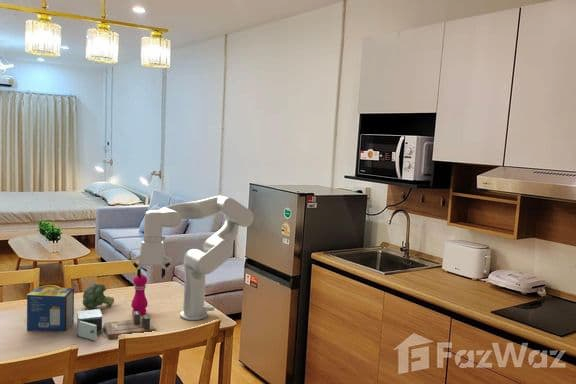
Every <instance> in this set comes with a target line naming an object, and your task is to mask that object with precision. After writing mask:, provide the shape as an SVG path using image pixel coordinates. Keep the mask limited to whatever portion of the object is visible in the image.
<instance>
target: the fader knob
mask: <svg viewBox="0 0 576 384" xmlns="http://www.w3.org/2000/svg"><path fill="white" fill-rule="evenodd" d="M140 319H141V316H140V313H139V311H135V312H133V314H132V320H133V323H134V325H138V324H140Z"/></svg>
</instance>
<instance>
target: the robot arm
mask: <svg viewBox="0 0 576 384" xmlns="http://www.w3.org/2000/svg"><path fill="white" fill-rule="evenodd" d="M216 215H224V217H225V218H224V223H223V226H221V228H219V230H218V231H216V232H215V233H214V234H212V235H211V236H209V237H208V238H207V239H206V240H205V241H204V243H203V245H202V248H203V250H201V249H197V248H192V249H188V251H186V252H185V254H184V256H183V268H184V287H183V288H184V289H183V309H182V310H181V311H180V312H179V317H180V318H181V319H183V320H188V321H199V320H203V319H205V318H206V317H207V316H208V312H209V311H210V312H211V311H214V310H215V306H211V305H205V296H206V295H205V293H206V275H209V274H211V273H213V272H215V270H217V269H219V267H220V266H222V265H223V264H224V263H225V262H227V261H228V260H229V259H230V257H231V256H232V254H233V252H234V251H233V250H234V246H233V244H232V242H234V241H235V240H236V238H237V236H238V234H239V228H240V227H244V228H246V227H247V228H248V227H250V226H251V225H252V224H253V222H254V218H255V217H254V213H253V212H252V210H250V209H249V208H248V207H246V206H245V205H243V204H242V203H241V202H239V201H237V200H236V199H234V198H232V197H231V196H230V197H229V196H225V195H214V196H211V197H208V198H204V199H200V200H195V201H189V202H188V201H187V202H181V203H175V204H171V205H170V204H169V205H167V206H162V207H161V208H159V209H158V210H156V209H155V210H154V209H153V210H151V209H150V210H147V211H146V212H145V213H144V227H143V228H144V229H143V230H144V231H143V241H141V245H140V250H139V254H138V255H136V256H134V257H132V258H130V262H131V264H132V266H133V267H135V269H136V270H137V271H136V276H139V279H140V278H141V272H142V270H141V269H142V267H143V266H161V279H164V277H165V276H166V270H167V268H168V267H170V265H171V263H172V262H173V257H170V256H168V255H166V254H165V247H164V246H165V244H164V240H166V236H164V235H163V228H170V229H174V228H178V227H179V226H180V225H181V224H182V222H183V220H203V219H206V218H209V217H213V216H216ZM239 226H240V227H239ZM137 260H139V263H137V262H136V261H137ZM165 260H167V262H166V263H164V262H165Z"/></svg>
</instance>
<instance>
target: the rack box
mask: <svg viewBox="0 0 576 384" xmlns="http://www.w3.org/2000/svg"><path fill="white" fill-rule="evenodd" d="M76 316H77V317H76V320H80V321H83V322H87V323H90V324H94V325H97V334H100V333H103V315H102V311H101V308H97V309H95V308H94V309H87V310H77V314H76Z"/></svg>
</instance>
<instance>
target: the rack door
mask: <svg viewBox="0 0 576 384" xmlns="http://www.w3.org/2000/svg"><path fill="white" fill-rule="evenodd" d="M76 320H77V319H76ZM76 323H77V324H76V336H77V337H81V338H84V339H88V340H91V341H97V334H98V333H97V325H94V324H90V323H87V322H83V321H80V320H77V322H76Z"/></svg>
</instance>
